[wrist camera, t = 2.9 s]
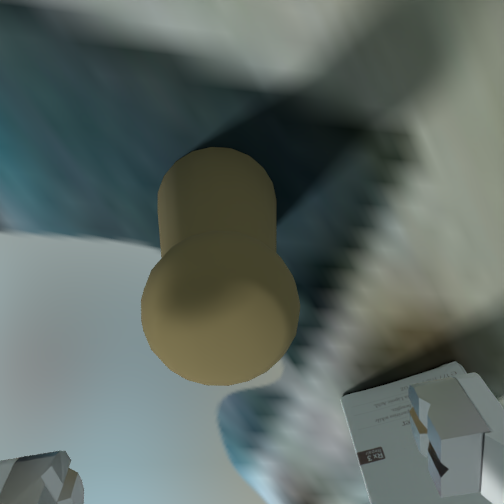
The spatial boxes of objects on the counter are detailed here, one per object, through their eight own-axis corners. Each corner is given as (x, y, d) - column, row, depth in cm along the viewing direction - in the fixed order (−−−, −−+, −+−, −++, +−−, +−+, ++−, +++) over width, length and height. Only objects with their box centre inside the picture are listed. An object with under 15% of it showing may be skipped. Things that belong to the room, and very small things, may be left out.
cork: (168, 133, 22) (134, 232, 12) (290, 162, 23) (350, 273, 13) (148, 246, 24) (107, 402, 15) (259, 267, 25) (289, 425, 16)
